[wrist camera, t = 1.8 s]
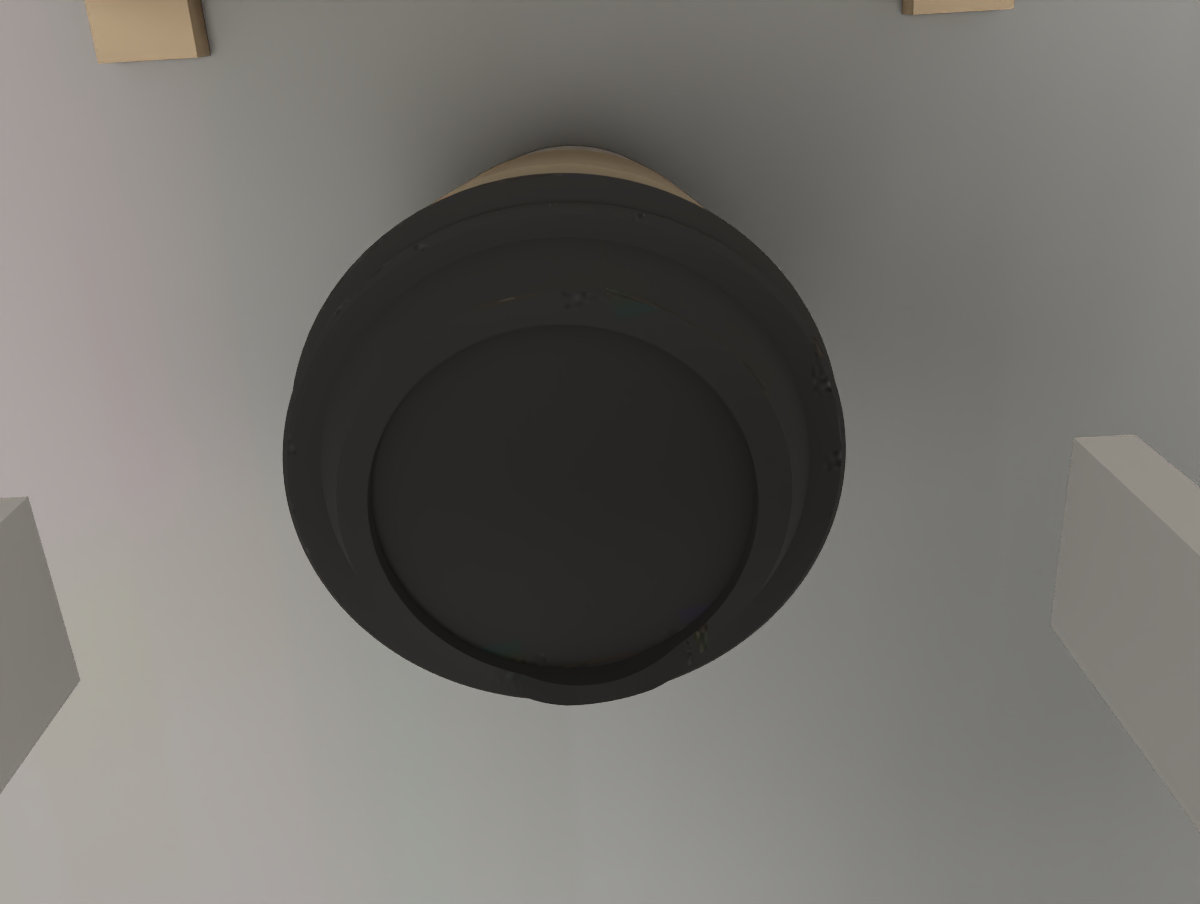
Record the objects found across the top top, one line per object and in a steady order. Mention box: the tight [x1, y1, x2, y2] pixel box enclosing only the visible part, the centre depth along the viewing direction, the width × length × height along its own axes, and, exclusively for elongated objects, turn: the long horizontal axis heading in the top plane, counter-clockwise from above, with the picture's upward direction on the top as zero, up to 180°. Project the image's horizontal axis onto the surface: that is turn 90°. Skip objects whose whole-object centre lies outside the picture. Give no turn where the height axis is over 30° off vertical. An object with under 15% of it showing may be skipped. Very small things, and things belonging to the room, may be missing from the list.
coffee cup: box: [283, 146, 846, 705], centre depth 23 cm, size 9×9×15 cm
